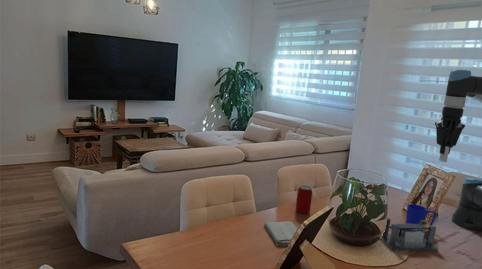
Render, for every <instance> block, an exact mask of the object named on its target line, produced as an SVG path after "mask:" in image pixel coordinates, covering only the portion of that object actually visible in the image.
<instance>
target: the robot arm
mask: <svg viewBox="0 0 482 269" xmlns="http://www.w3.org/2000/svg"><path fill="white" fill-rule="evenodd" d="M449 72H450V73H449V76H448V79H447V85H446V90H445V97H444V101H443V107H442V112H441V116H442V117H441V118H440V121H435V122H434V125H435V129H436V130H435V132H436V134H435V135H436V144H437V145H438V146H440V148H439V154H440V155H439V159H438V160H439V161H440V162H443V163H447V162H448V156H449V155H450V152H451V149H452V148H454V147H455V146H456V145H457V143H458V141H459V138H460V136H461V134H462V131H463V130H464V128H465V127H466V124H463V123H462V119H461V118H462V117H463V115H464V108H465V104H466V100H467V97H469V98H471V99H474V100H476V101H478V102H480V103H482V76H476V75H474V76H473V75H472V71H471V70H466V69H452V70H450V71H449ZM451 221H452V222H453V223H454V224H456V225H457V226H459V227H460V226H461V227H462V228H465V229H468V230H473V231H478V232H482V178H481V177H473V176H471V177H470V176H467V177H466V178H464V179H463V183H462V188H461V192H460V197H459V203H458V206H457V208H456V209H455V211H454V212H453V213H452V215H451Z"/></svg>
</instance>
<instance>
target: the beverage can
mask: <svg viewBox="0 0 482 269" xmlns="http://www.w3.org/2000/svg"><path fill="white" fill-rule="evenodd" d="M296 194H297V196H296V204H295V211H296V212H298V213H300V214H308V213H310V212H311V206H312V199H313V189H312V187H311V186H308V185H300V186H299V188H298V190H297V193H296Z"/></svg>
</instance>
